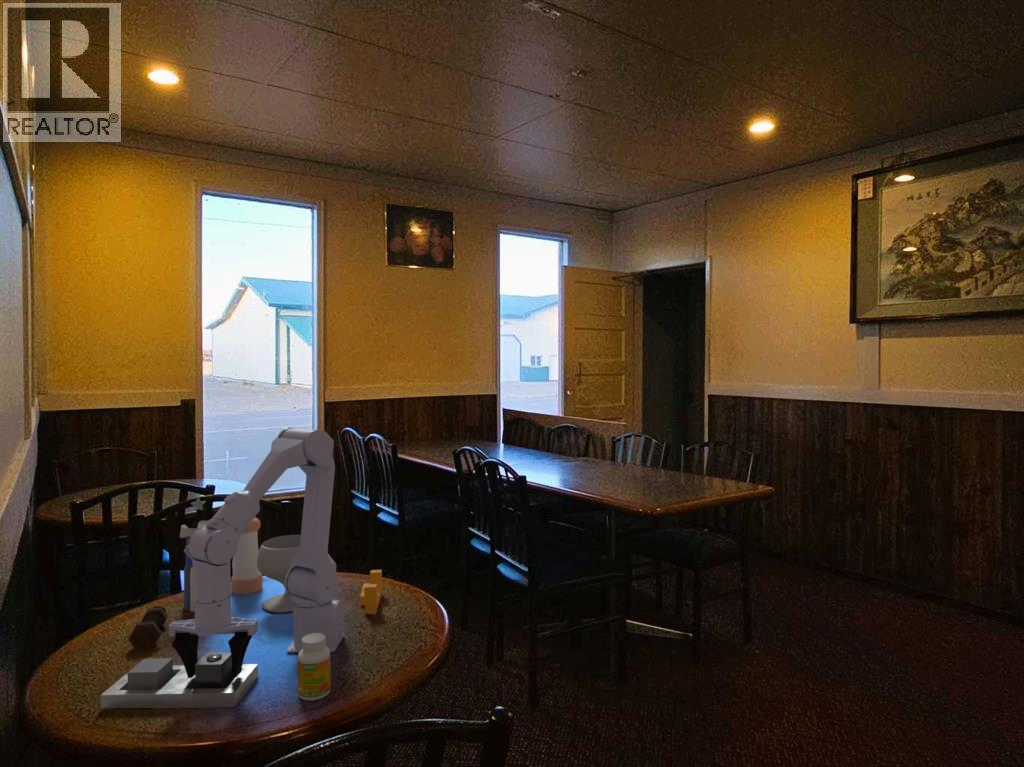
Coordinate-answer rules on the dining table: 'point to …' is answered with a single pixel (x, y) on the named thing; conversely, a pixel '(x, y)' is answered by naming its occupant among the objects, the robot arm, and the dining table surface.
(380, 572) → the pipe clamp
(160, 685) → the slate block
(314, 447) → the robot arm
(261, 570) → the chalice
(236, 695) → the tray
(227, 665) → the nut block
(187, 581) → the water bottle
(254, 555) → the salt shaker
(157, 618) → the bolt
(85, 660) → the dining table surface
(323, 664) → the supplement bottle
